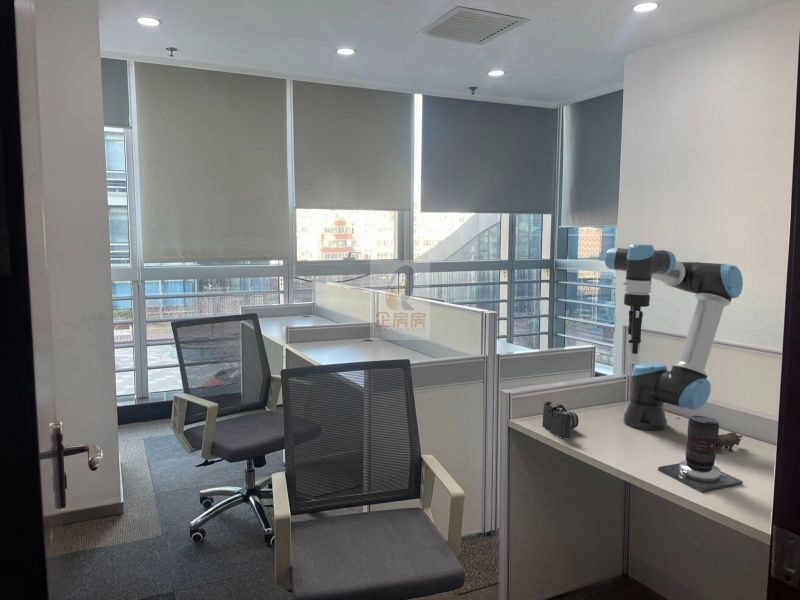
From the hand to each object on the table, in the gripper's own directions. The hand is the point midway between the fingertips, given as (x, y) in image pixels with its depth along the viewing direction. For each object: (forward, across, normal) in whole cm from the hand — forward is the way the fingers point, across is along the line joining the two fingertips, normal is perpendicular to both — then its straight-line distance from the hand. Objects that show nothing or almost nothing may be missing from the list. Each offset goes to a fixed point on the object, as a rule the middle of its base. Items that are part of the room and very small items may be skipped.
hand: (632, 358), depth 188 cm
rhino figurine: (+32, -16, +33) cm, 49 cm away
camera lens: (+29, +12, +20) cm, 37 cm away
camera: (+32, -14, -20) cm, 40 cm away
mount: (+32, +12, +20) cm, 39 cm away
